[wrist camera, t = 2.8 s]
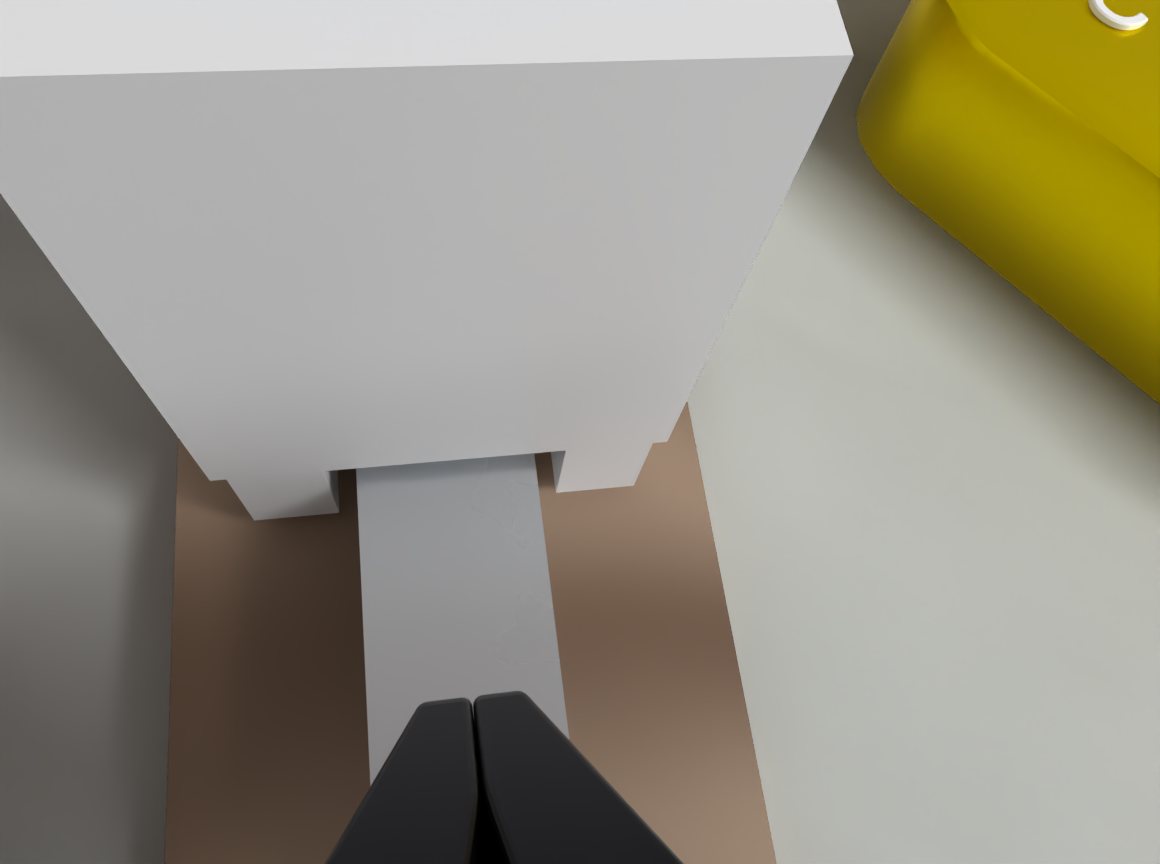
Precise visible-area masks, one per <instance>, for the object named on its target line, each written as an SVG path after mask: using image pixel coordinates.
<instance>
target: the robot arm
mask: <svg viewBox="0 0 1160 864" xmlns="http://www.w3.org/2000/svg"><path fill="white" fill-rule="evenodd" d="M473 713H474V716H473ZM325 864H684V863H683V862H682V861H681V860H680V859H679V858H678V857H677V856H676V854H675V853H674V852H673V851H672V850H671V849H670V848H669V847H668V846H667V845H666V844H665V843H664V842H663V840H662V839H661V838H660V837H659V836H658V835H657V834H656V833H655V832H654V831H653V830H652V829H651V828H650V826H649V825H648V824H647V823H646V822H645V821H644V820H643V819H642V818H641V817H640V816H639V815H638V814H637V812H636V811H635V810H634V809H633V808H632V807H631V806H630V805H629V804H628V803H627V802H626V801H625V800H624V798H623V797H622V796H621V795H620V794H619V793H618V792H617V791H616V790H615V789H614V788H613V787H612V786H611V784H610V783H609V782H608V781H607V780H606V779H605V778H604V777H603V776H602V775H601V774H600V773H599V772H598V770H597V769H596V768H595V767H594V766H593V765H592V764H591V763H590V762H589V761H588V760H587V759H586V758H585V756H584V755H583V754H582V753H581V752H580V751H579V750H578V749H577V748H576V747H575V746H574V745H573V744H572V742H571V741H570V740H569V739H568V738H567V737H566V736H565V735H564V734H563V733H562V732H561V731H560V730H559V728H558V727H557V726H556V725H555V724H554V723H553V722H552V721H551V720H550V719H549V718H548V717H547V716H546V714H545V713H544V712H543V711H542V710H541V709H540V708H539V707H538V706H537V705H536V704H535V703H534V702H533V700H532V699H531V698H530V697H529V696H528V695H527V694H526V693H524V692H522V691H510V692H501V693H493V694H485V695H480V696H478V697H477V698H475V700H474V702H473V707H472V703H471V701H470V700H469V699H467V698H465V697H460V698H452V699H444V700H435V701H427V702H424V703H422V704H420V705H419V706H418V707H417V709H416V710H415V712H414V714H413V715H412V717H411V719H410V720H409V722H408V724H407V725H406V727H405V729H404V730H403V732H402V734H401V736H400V737H399V739H398V741H397V742H396V744H395V746H394V747H393V749H392V751H391V752H390V754H389V756H388V758H387V759H386V761H385V763H384V764H383V766H382V768H381V769H380V771H379V773H378V774H377V776H376V778H375V779H374V781H373V783H372V785H371V786H370V788H369V790H368V791H367V793H366V795H365V796H364V798H363V800H362V801H361V803H360V805H359V807H358V808H357V810H356V812H355V813H354V815H353V817H352V818H351V820H350V822H349V823H348V825H347V827H346V828H345V830H344V832H343V834H342V835H341V837H340V839H339V840H338V842H337V844H336V845H335V847H334V849H333V850H332V852H331V854H330V856H329V857H328V859H327V861H326V862H325Z"/></svg>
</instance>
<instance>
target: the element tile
mask: <svg viewBox="0 0 1160 864" xmlns="http://www.w3.org/2000/svg"><path fill="white" fill-rule="evenodd" d="M856 119H857V126H858V133H859V140H860V143H861V144H862V146H863V148H864V149H865V151H866V153H867V154H868V156H869V158H870V159H871V161H872V163H873V164H874V166H875V168H876V169H877V171H878V172H879V173H880V174H881V175H882V176H883V177H884V178H885V179H886V180H887V181H888V182H889V183H890V184H891V186H892V187H893V188H894V189H895V190H896V191H897V192H899V193H900V194H901V195H902V196H903V197H905V198H906V199H907V200H908V201H910V202H911V203H912V204H913V205H915V206H916V207H917V208H918V209H920V210H921V211H922V212H923V213H924V214H926V215H927V216H928V217H929V218H931V219H932V220H933V221H934V222H936V223H937V224H938V225H939V226H940V227H942V228H943V229H944V230H945V231H947V232H948V233H949V234H950V235H952V236H953V237H954V238H955V239H957V240H958V241H959V242H960V243H961V244H963V245H964V246H965V247H966V248H968V249H969V250H970V251H971V252H973V253H974V254H975V255H976V256H978V257H979V258H980V259H981V260H982V261H984V262H985V263H986V264H987V265H989V266H990V267H991V268H992V269H994V270H995V271H996V272H997V273H998V274H1000V275H1001V276H1002V277H1003V278H1005V279H1006V280H1007V281H1008V282H1010V283H1011V284H1012V285H1013V286H1015V287H1016V288H1017V289H1018V290H1019V291H1021V292H1022V293H1023V294H1024V295H1026V296H1027V297H1028V298H1029V299H1031V300H1032V301H1033V302H1034V303H1036V304H1037V305H1038V306H1039V307H1040V308H1042V309H1043V310H1044V311H1045V312H1047V313H1048V314H1049V315H1050V316H1052V317H1053V318H1054V319H1055V320H1056V321H1058V322H1059V323H1060V324H1061V325H1063V326H1064V327H1065V328H1066V329H1068V330H1069V331H1070V332H1071V333H1073V334H1074V335H1075V336H1076V337H1077V338H1079V339H1080V340H1081V341H1082V342H1084V343H1085V344H1086V345H1087V346H1089V347H1090V348H1091V349H1092V350H1094V351H1095V352H1096V353H1097V354H1098V355H1100V356H1101V357H1102V358H1103V359H1105V360H1106V361H1107V362H1108V363H1110V364H1111V365H1112V366H1113V367H1114V368H1116V369H1117V370H1118V371H1119V372H1121V373H1122V374H1123V375H1124V376H1126V377H1127V378H1128V379H1129V380H1131V381H1132V382H1133V383H1134V384H1135V385H1137V386H1138V387H1139V388H1140V389H1142V390H1143V391H1144V392H1145V393H1147V394H1148V395H1149V396H1150V397H1152V398H1153V399H1154V400H1155V401H1156V402H1158V403H1159V404H1160V0H911V2H910V4H909V5H908V7H907V9H906V11H905V13H904V15H903V17H902V19H901V21H900V23H899V25H898V27H897V29H896V31H895V33H894V34H893V36H892V38H891V40H890V42H889V44H888V46H887V48H886V50H885V52H884V54H883V56H882V58H881V60H880V61H879V63H878V65H877V67H876V69H875V71H874V73H873V75H872V77H871V79H870V81H869V83H868V85H867V87H866V89H865V91H864V94H863V97H862V99H861V102H860V105H859V107H858V110H857V113H856Z"/></svg>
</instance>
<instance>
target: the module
mask: <svg viewBox="0 0 1160 864" xmlns="http://www.w3.org/2000/svg"><path fill="white" fill-rule="evenodd" d="M853 56H854V55H853V51H852V48H851V45H850V42H849V39H848V35H847V32H846V29H845V26H844V23H843V20H842V16H841V13H840V10H839V7H838V4H837V1H836V0H0V194H1V195H2V196H3V198H4V199H5V201H6V202H7V203H8V205H9V206H10V207H11V209H12V210H13V212H14V213H15V214H16V216H17V217H18V218H19V220H20V221H21V223H22V224H23V225H24V227H25V228H26V229H27V231H28V232H29V233H30V235H31V236H32V238H33V239H34V240H35V242H36V243H37V244H38V246H39V247H40V249H41V250H42V251H43V253H44V254H45V255H46V257H47V258H48V260H49V261H50V262H51V264H52V265H53V266H54V268H55V269H56V271H57V272H58V273H59V275H60V276H61V277H62V279H63V280H64V281H65V283H66V284H67V286H68V287H69V288H70V290H71V291H72V292H73V294H74V295H75V297H76V298H77V299H78V301H79V302H80V303H81V305H82V306H83V308H84V309H85V310H86V312H87V313H88V314H89V316H90V317H91V318H92V320H93V321H94V323H95V324H96V325H97V327H98V328H99V329H100V331H101V332H102V334H103V335H104V336H105V338H106V339H107V340H108V342H109V343H110V345H111V346H112V347H113V349H114V350H115V351H116V353H117V354H118V356H119V357H120V358H121V360H122V361H123V362H124V364H125V365H126V366H127V368H128V369H129V371H130V372H131V373H132V375H133V376H134V377H135V379H136V380H137V382H138V383H139V384H140V386H141V387H142V388H143V390H144V391H145V393H146V394H147V395H148V397H149V398H150V399H151V401H152V402H153V403H154V405H155V406H156V408H157V409H158V410H159V412H160V413H161V414H162V416H163V417H164V419H165V420H166V421H167V423H168V424H169V425H170V427H171V428H172V430H173V431H174V432H175V434H176V435H177V436H178V438H179V439H180V441H181V442H182V443H183V445H184V446H185V447H186V449H187V450H188V451H189V453H190V454H191V456H192V457H193V458H194V460H195V461H196V462H197V464H198V465H199V467H200V468H201V469H202V471H203V472H204V473H205V475H206V476H207V478H208V479H209V480H210V481H214V480H227V481H228V483H229V484H230V486H231V487H232V489H233V490H234V492H235V493H236V495H237V496H238V497H239V499H240V500H241V502H242V503H243V505H244V506H245V508H246V509H247V511H248V512H249V514H250V515H251V517H252V518H253V519H254V521H255V520H266V519H277V518H288V517H299V516H309V515H320V514H331V513H339V491H338V470H343V469H355V468H367V467H379V466H390V465H402V464H414V463H425V462H437V461H449V460H461V459H472V458H484V457H496V456H508V455H519V454H531V453H543V452H551V458H552V466H553V474H554V481H555V489H556V493H560V492H571V491H582V490H593V489H604V488H615V487H626V486H634V484H635V482H636V480H637V477H638V475H639V473H640V471H641V468H642V466H643V464H644V462H645V459H646V457H647V455H648V453H649V451H650V448H651V446H652V444H653V443H660V442H667V441H668V439H669V437H670V435H671V433H672V431H673V429H674V427H675V424H676V422H677V420H678V418H679V416H680V414H681V412H682V410H683V408H684V406H685V404H686V402H687V400H688V398H689V395H690V393H691V391H692V389H693V387H694V385H695V383H696V381H697V379H698V377H699V375H700V373H701V371H702V369H703V366H704V364H705V362H706V360H707V358H708V356H709V354H710V352H711V350H712V348H713V346H714V344H715V342H716V339H717V337H718V335H719V333H720V331H721V329H722V327H723V325H724V323H725V321H726V319H727V317H728V315H729V313H730V310H731V308H732V306H733V304H734V302H735V300H736V298H737V296H738V294H739V292H740V290H741V288H742V286H743V284H744V281H745V279H746V277H747V275H748V273H749V271H750V269H751V267H752V265H753V263H754V261H755V259H756V257H757V255H758V252H759V250H760V248H761V246H762V244H763V242H764V240H765V238H766V236H767V234H768V232H769V230H770V228H771V226H772V223H773V221H774V219H775V217H776V215H777V213H778V211H779V209H780V207H781V205H782V203H783V201H784V199H785V197H786V194H787V192H788V190H789V188H790V186H791V184H792V182H793V180H794V178H795V176H796V174H797V172H798V170H799V168H800V165H801V163H802V161H803V159H804V157H805V155H806V153H807V151H808V149H809V147H810V145H811V143H812V141H813V139H814V136H815V134H816V132H817V130H818V128H819V126H820V124H821V122H822V120H823V118H824V116H825V114H826V112H827V109H828V107H829V105H830V103H831V101H832V99H833V97H834V95H835V93H836V91H837V89H838V87H839V85H840V83H841V80H842V78H843V76H844V74H845V72H846V70H847V68H848V66H849V64H850V62H851V60H852V58H853Z"/></svg>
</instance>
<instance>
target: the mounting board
mask: <svg viewBox="0 0 1160 864" xmlns="http://www.w3.org/2000/svg"><path fill="white" fill-rule="evenodd" d="M534 456H535V464H536V472H537V480H538V488H539V496H540V505H541V513H542V521H543V529H544V537H545V545H546V553H547V562H548V570H549V578H550V586H551V594H552V602H553V610H554V619H555V627H556V635H557V643H558V651H559V659H560V667H561V676H562V684H563V692H564V700H565V708H566V716H567V725H568V733H569V740H570V741H571V742H572V744H573V745H574V746H575V747H576V748H577V749H578V750H579V751H580V752H581V753H582V754H583V755H584V756H585V758H586V759H587V760H588V761H589V762H590V763H591V764H592V765H593V766H594V767H595V768H596V769H597V770H598V772H599V773H600V774H601V775H602V776H603V777H604V778H605V779H606V780H607V781H608V782H609V783H610V784H611V786H612V787H613V788H614V789H615V790H616V791H617V792H618V793H619V794H620V795H621V796H622V797H623V798H624V800H625V801H626V802H627V803H628V804H629V805H630V806H631V807H632V808H633V809H634V810H635V811H636V812H637V814H638V815H639V816H640V817H641V818H642V819H643V820H644V821H645V822H646V823H647V824H648V825H649V826H650V828H651V829H652V830H653V831H654V832H655V833H656V834H657V835H658V836H659V837H660V838H661V839H662V840H663V842H664V843H665V844H666V845H667V846H668V847H669V848H670V849H671V850H672V851H673V852H674V853H675V854H676V856H677V857H678V858H679V859H680V860H681V861H682V862H683V863H684V864H776V858H775V853H774V848H773V843H772V838H771V832H770V827H769V822H768V817H767V812H766V807H765V801H764V796H763V791H762V786H761V781H760V776H759V770H758V765H757V760H756V755H755V750H754V744H753V739H752V734H751V729H750V724H749V719H748V713H747V708H746V703H745V698H744V693H743V688H742V682H741V677H740V672H739V667H738V662H737V657H736V651H735V646H734V641H733V636H732V631H731V625H730V620H729V615H728V610H727V605H726V600H725V594H724V589H723V584H722V579H721V574H720V569H719V563H718V558H717V553H716V548H715V543H714V538H713V532H712V527H711V522H710V517H709V512H708V506H707V501H706V496H705V491H704V486H703V481H702V475H701V470H700V465H699V460H698V455H697V450H696V444H695V439H694V434H693V429H692V424H691V418H690V413H689V408H688V403H687V402H686V404H685V406H684V408H683V410H682V412H681V414H680V416H679V418H678V420H677V422H676V424H675V427H674V429H673V431H672V433H671V435H670V437H669V439H668V441H667V442H660V443H653V444H652V446H651V448H650V451H649V453H648V455H647V457H646V459H645V462H644V464H643V466H642V468H641V471H640V473H639V475H638V477H637V480H636V482H635V484H634V486H626V487H615V488H604V489H593V490H582V491H571V492H560V493H556V489H555V481H554V474H553V466H552V458H551V452H543V453H534ZM338 491H339V513H331V514H320V515H309V516H299V517H288V518H277V519H266V520H255V521H254V519H253V518H252V517H251V515H250V514H249V512H248V511H247V509H246V508H245V506H244V505H243V503H242V502H241V500H240V499H239V497H238V496H237V495H236V493H235V492H234V490H233V489H232V487H231V486H230V484H229V483H228V481H227V480H214V481H210V480H209V479H208V478H207V476H206V475H205V473H204V472H203V471H202V469H201V468H200V467H199V465H198V464H197V462H196V461H195V460H194V458H193V457H192V456H191V454H190V453H189V451H188V450H187V449H186V447H185V446H184V445H183V443H182V442H181V441H180V439H179V438H178V459H177V491H176V523H175V554H174V586H173V618H172V649H171V681H170V713H169V744H168V776H167V808H166V839H165V864H325V862H326V861H327V859H328V857H329V856H330V854H331V852H332V850H333V849H334V847H335V845H336V844H337V842H338V840H339V839H340V837H341V835H342V834H343V832H344V830H345V828H346V827H347V825H348V823H349V822H350V820H351V818H352V817H353V815H354V813H355V812H356V810H357V808H358V807H359V805H360V803H361V801H362V800H363V798H364V796H365V795H366V793H367V791H368V790H369V788H370V765H369V743H368V721H367V699H366V677H365V655H364V633H363V611H362V589H361V566H360V544H359V522H358V500H357V478H356V468H355V469H343V470H338Z"/></svg>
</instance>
